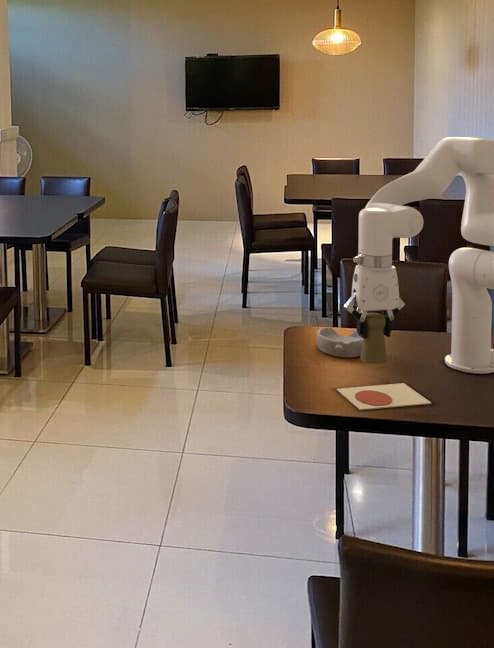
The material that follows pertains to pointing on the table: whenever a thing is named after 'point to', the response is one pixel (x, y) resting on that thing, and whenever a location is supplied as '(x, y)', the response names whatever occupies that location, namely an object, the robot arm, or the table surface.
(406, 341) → the table surface
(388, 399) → the placemat
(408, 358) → the table surface
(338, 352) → the dish
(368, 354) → the cork
